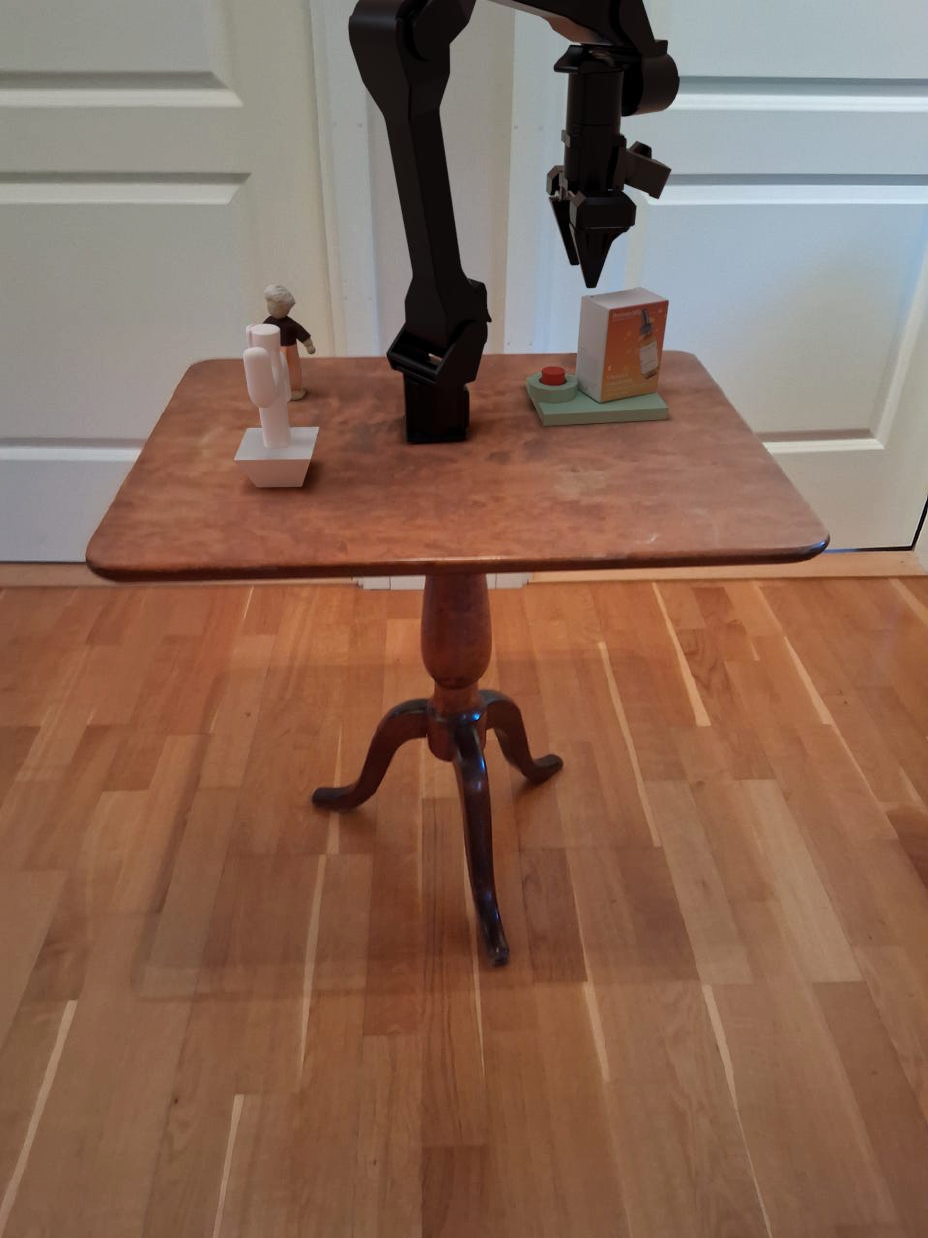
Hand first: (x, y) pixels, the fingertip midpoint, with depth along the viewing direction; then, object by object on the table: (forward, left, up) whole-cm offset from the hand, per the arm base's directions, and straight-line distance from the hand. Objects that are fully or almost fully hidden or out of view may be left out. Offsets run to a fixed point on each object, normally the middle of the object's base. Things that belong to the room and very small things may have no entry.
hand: (582, 275), depth 103 cm
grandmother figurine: (-35, -1, -12) cm, 37 cm away
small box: (+3, -8, -11) cm, 14 cm away
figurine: (-35, -22, -12) cm, 43 cm away
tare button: (-5, -8, -10) cm, 13 cm away
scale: (0, -8, -12) cm, 14 cm away
